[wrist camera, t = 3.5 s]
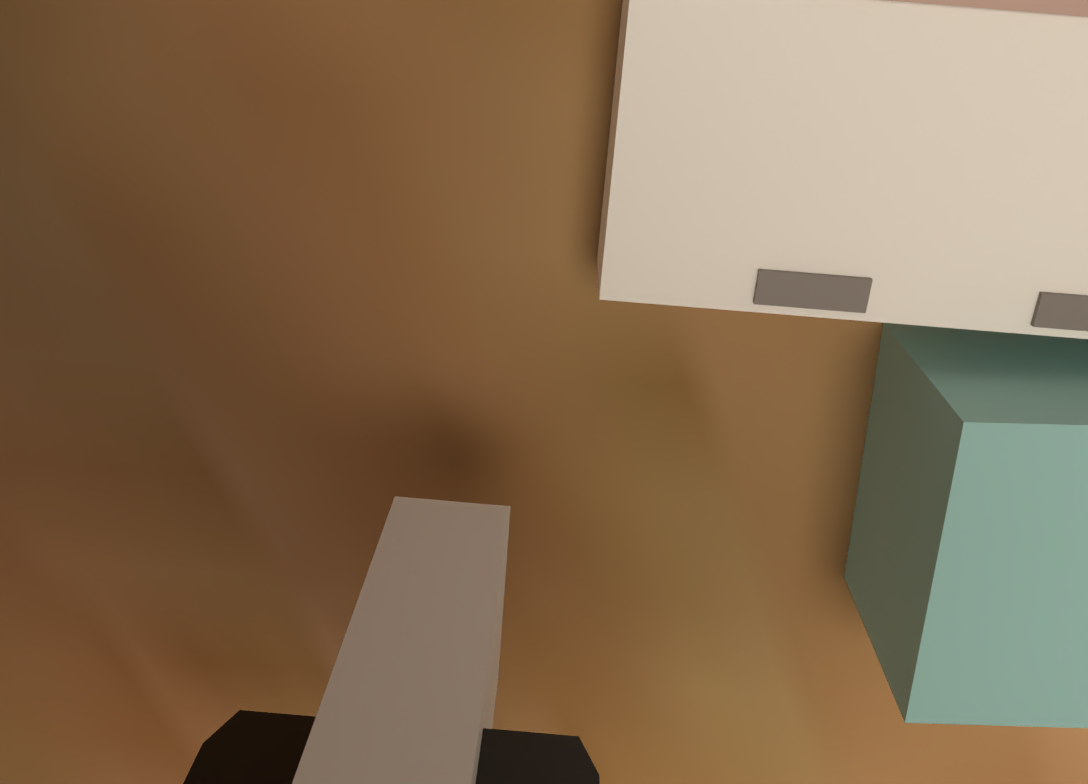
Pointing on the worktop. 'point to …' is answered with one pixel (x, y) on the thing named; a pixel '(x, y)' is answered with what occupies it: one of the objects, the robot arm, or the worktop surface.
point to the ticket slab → (852, 161)
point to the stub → (976, 526)
